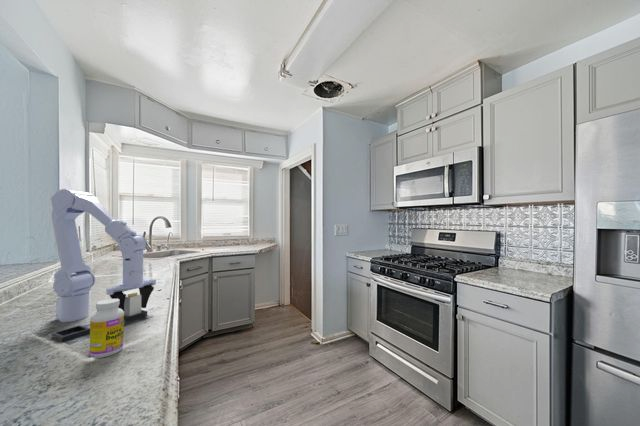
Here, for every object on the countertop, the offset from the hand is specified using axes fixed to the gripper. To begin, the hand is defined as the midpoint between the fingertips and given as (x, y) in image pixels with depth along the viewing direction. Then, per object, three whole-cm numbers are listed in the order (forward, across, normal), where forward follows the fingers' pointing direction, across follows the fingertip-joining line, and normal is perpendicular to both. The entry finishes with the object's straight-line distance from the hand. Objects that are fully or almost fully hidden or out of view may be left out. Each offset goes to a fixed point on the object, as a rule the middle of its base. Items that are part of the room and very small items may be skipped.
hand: (132, 310), depth 88 cm
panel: (+3, -8, 0) cm, 8 cm away
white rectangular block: (+2, 0, 0) cm, 2 cm away
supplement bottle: (+3, -16, -19) cm, 25 cm away
